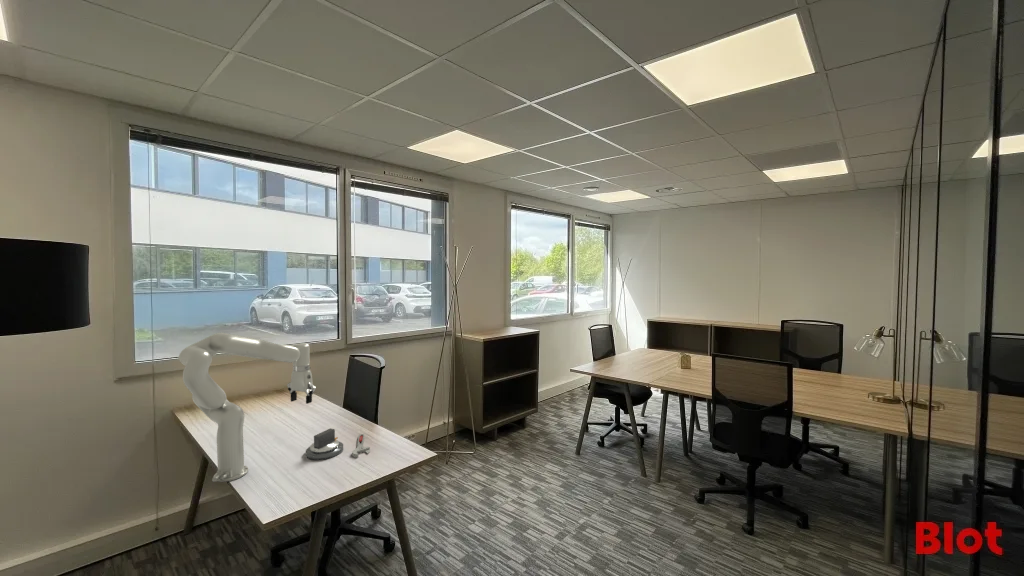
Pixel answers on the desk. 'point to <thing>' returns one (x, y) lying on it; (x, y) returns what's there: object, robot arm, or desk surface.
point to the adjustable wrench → (360, 446)
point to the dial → (324, 442)
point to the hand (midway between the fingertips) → (301, 401)
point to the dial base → (324, 455)
